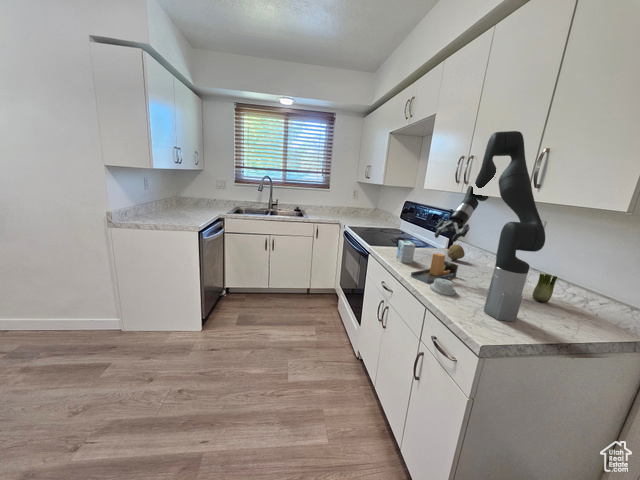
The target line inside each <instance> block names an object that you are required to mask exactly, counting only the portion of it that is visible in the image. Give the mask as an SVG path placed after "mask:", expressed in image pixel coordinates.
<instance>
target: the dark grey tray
mask: <svg viewBox="0 0 640 480" xmlns="http://www.w3.org/2000/svg"><path fill="white" fill-rule="evenodd" d="M429 272H430V268H426V269H422V270H421V269H420V270H416V271H413V272H410V277H412V278H414V279H416V280H417V281H421V282H423V283H425V284H430V283H431V284H432V283H434V279H436V278H441V279H446V280H448V279H450V278H453V277H454V274H455V273H450V274H445V275H439V276H435V275H433V274H430V273H429ZM454 278H455V277H454Z"/></svg>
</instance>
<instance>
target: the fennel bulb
mask: <svg viewBox="0 0 640 480" xmlns="http://www.w3.org/2000/svg"><path fill="white" fill-rule="evenodd" d="M557 279H558V275H557V276H556V275H553V276H552V275H551V274H548V273H539V277H538V282H537V284H536V285H535V287H534V289H533V291H532V299H533V300H534V301H537V302H540V303H545V304H546V303H547V304H548V302H549V301H550V299H551V298H552V295H553V293H554V290H555V289H554V287H555V284H556V281H557Z"/></svg>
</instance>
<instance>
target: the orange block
mask: <svg viewBox="0 0 640 480" xmlns="http://www.w3.org/2000/svg"><path fill="white" fill-rule="evenodd" d="M445 259H446V254H442V253H439V252H437V253H433V254H432V258H431V263H430V268H429V269H430V272H429V273H430V274H433V275H435V276H439V275H445V274H450V270H446V271H443V272H442V270H443V265H444V261H446V260H445Z"/></svg>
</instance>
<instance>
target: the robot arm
mask: <svg viewBox="0 0 640 480" xmlns="http://www.w3.org/2000/svg"><path fill="white" fill-rule="evenodd" d="M525 151H526V150H525V138H524V136H523V133H522V132H521V131H518V130H511V131H496V132H494V133H492V134H491V135H490V137H489V140H488V142H487V144H486V148H485V152H484V155H483V159H482V163H481V167H480V170H479V173H478V174H477V176H476V179H475V181H474V183H475V184H476V186H477V187H478V188H482V187H484V186H485V185H486V184H487V183H488V182H489V181H490V180H491V179H492V178H493V177H494V175H495V173H496V169H497V167H496V164H495V162H494V157H507V156H509V157H510V162H509V164H508V166H507V167H506V168H505V169H504V171H503V172H502V173H501V174H500V176H499V178H498V188H499V193H500V194H499V196H500V198H501V200H502V201H503V202H504V203H505V205H507V207H508V208H510V210H512V211H513V212H514V214H515V215H516V216H517V218H518V220H519V222H518V221H508V222H506V223H505V224H504V226H503V227H502V229H501V231H500V236H499V240H498V244H497V251H496V255H495V256H496V257H495V259H496V260H495V265H494V269H493V272H492V277H491V280H490V282H489V283H490V284H489V287H488V290H487V291H488V292H487V295H486V299H485V303H484V307H483V312H484V313H485V314H487V315H489V316H491V317H493V318H495V319H496V320H499V321H506V322H512V323H513V322H516V321H517V318H518V314H519V311H520V308H521V304H522V301H523V297H524V296H522V295H523V291H524V288H525V285H526V281H527V277H528V274H529V271H530V264H529V263H528V262H526V261H525V260H522V259H520V258H518V257H517V255H516V253H517V251H520V252H521V251H522V252H535V253H536V252H539V251H541V250H542V249H543V248H544V246H545V242H546V230H545V228H544V227H545V226H544V225H543V222H542V219H541V217H540V214H539V211H538V208H537V206H536V201H535V199H534V194H533V187H532V182H531V179H530V178H531V177H530V174H529V170H528V165H527V161H526V152H525ZM489 198H490V196H489V197H488V196H482V195H475V194H473V187H472V186H470V185H468V187H467V190H466V193H465V195H464V199H463V200H462V201H461V202H460V204H459V205H458V206H457V207H456V209H455V210H454V211H453V212H452V213H451V215H450V216H449V218H448V219H447V220H446V221H445V220H444V219H441V220H440V221H439V222H438V223H437V224H436V225H435V230H436V231H435V233H434V238H436V239H439V236H440V235H441V234H442V233H443V232H447V231H450V232H455V234H454V235H453V236H452V238H451V242H452V243H455V242H457V240H458V239H459V238H460V237H462V238H465V237H466V235H467V233H468V232H469V230H470V226H469V224H468V223H467V222H468V221H469V220H470V218H471V217H472V215H473V213H474V212H475V210H476V209H477V208H478V206H479V201H480V202H484V201H485V202H486V200H488V199H489ZM460 230H461V232H460Z"/></svg>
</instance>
